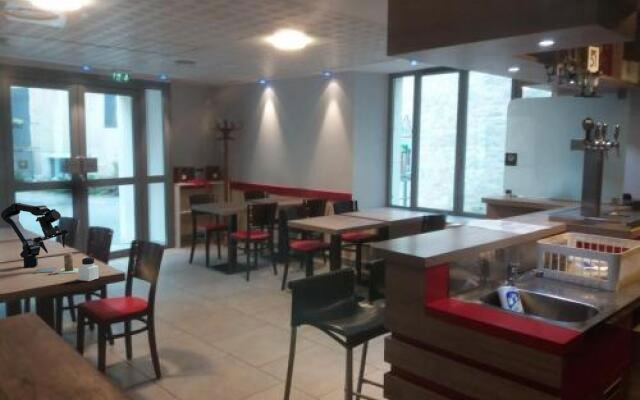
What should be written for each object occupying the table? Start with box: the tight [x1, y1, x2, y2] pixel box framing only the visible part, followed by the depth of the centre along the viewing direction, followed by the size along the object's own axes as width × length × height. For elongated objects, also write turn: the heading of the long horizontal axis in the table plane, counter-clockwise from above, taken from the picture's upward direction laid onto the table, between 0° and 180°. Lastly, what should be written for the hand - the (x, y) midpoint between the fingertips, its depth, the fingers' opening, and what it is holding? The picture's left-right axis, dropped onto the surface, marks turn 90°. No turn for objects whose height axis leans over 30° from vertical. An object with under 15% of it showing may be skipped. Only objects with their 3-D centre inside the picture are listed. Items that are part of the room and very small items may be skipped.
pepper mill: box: [63, 252, 74, 271], centre depth 289 cm, size 4×4×10 cm
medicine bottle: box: [77, 256, 99, 282], centre depth 272 cm, size 7×7×12 cm
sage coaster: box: [57, 267, 79, 275], centre depth 289 cm, size 10×10×1 cm
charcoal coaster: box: [33, 267, 58, 274], centre depth 291 cm, size 10×10×1 cm
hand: (55, 250), depth 293 cm, fingers open, 9 cm apart
